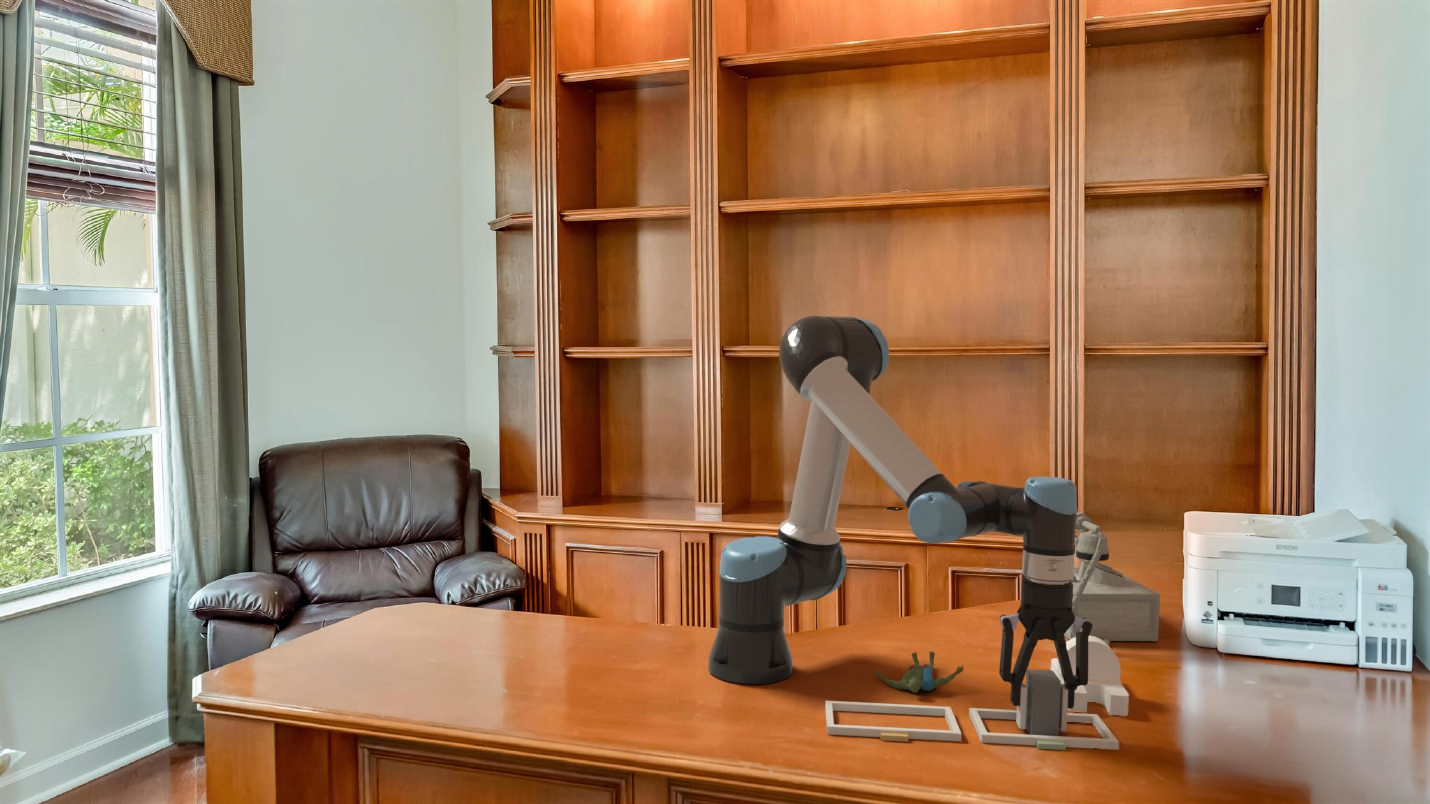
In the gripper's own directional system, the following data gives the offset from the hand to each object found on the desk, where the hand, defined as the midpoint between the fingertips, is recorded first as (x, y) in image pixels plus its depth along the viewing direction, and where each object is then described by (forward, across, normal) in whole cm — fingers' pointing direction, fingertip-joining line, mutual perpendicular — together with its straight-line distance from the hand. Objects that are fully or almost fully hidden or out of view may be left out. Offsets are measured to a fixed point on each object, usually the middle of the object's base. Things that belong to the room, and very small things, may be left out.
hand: (1041, 726), depth 155 cm
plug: (+1, 0, 0) cm, 1 cm away
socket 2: (+1, 0, 0) cm, 1 cm away
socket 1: (+1, -23, 0) cm, 23 cm away
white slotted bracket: (+1, +12, +18) cm, 22 cm away
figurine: (+1, -16, +20) cm, 26 cm away
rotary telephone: (+1, +24, +60) cm, 64 cm away
